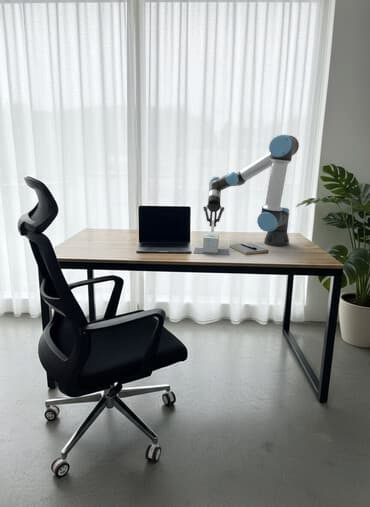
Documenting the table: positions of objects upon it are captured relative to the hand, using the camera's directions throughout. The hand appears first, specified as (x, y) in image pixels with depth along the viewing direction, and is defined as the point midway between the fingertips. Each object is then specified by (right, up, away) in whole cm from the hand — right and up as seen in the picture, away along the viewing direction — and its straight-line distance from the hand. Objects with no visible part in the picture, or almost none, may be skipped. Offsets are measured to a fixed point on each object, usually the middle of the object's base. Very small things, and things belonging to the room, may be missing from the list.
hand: (212, 230), depth 217 cm
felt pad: (-1, -12, -7) cm, 14 cm away
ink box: (-1, -6, -1) cm, 6 cm away
